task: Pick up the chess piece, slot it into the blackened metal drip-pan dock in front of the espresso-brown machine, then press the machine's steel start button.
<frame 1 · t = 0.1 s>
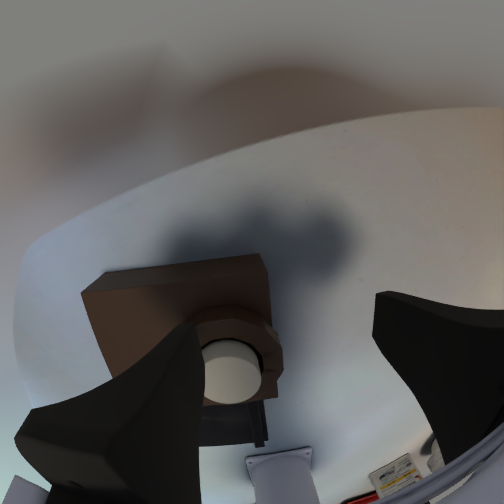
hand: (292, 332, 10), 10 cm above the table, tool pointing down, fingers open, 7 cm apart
start button: (228, 372, 14), point 6 cm above the table, slide at 0.1 cm
brown push button box: (189, 324, 20), on the table
paper bowls: (451, 428, 31), on the table
butter dish: (360, 500, 35), on the table
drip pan: (213, 413, 23), on the table
container: (389, 469, 32), on the table
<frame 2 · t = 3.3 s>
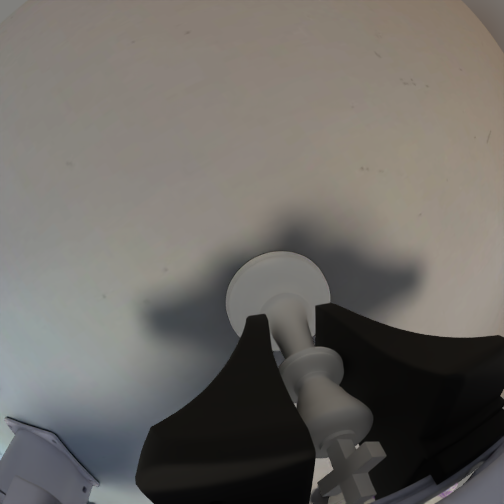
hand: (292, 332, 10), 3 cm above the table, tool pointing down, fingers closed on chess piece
paper bowls: (371, 477, 20), on the table
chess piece: (277, 299, 13), on the table, touching gripper
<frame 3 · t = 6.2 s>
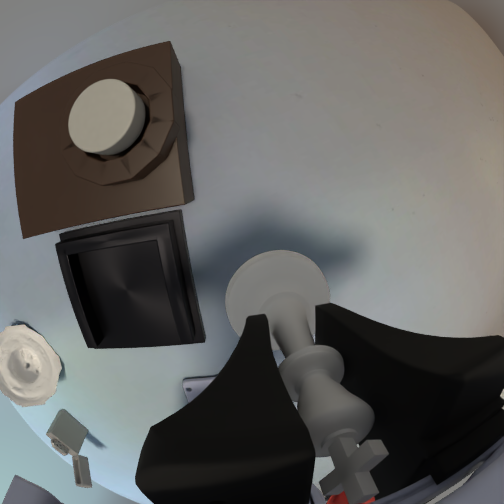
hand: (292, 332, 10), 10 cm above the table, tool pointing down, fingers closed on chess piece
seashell: (36, 350, 20), on the table
start button: (106, 117, 10), point 6 cm above the table, slide at 0.1 cm
brown push button box: (106, 147, 16), on the table
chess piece: (277, 298, 13), point 7 cm above the table, touching gripper
butter dish: (357, 482, 31), on the table
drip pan: (130, 286, 19), on the table
lighter: (82, 427, 23), on the table
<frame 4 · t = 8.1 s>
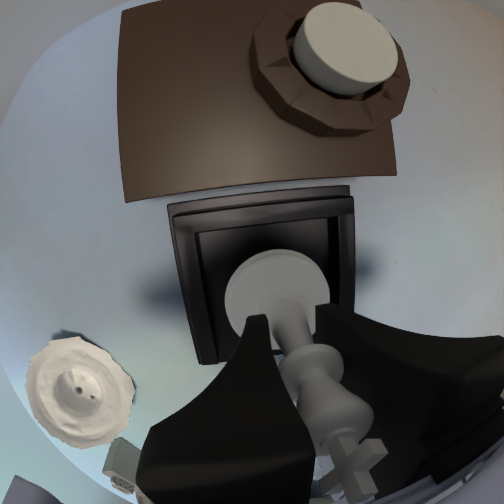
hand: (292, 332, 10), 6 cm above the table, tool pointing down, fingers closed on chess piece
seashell: (92, 369, 17), on the table
start button: (345, 47, 7), point 6 cm above the table, slide at 0.1 cm
brown push button box: (249, 97, 13), on the table
dish: (292, 500, 25), on the table
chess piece: (276, 298, 13), point 3 cm above the table, touching gripper
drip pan: (268, 278, 16), on the table
lighter: (143, 455, 20), on the table
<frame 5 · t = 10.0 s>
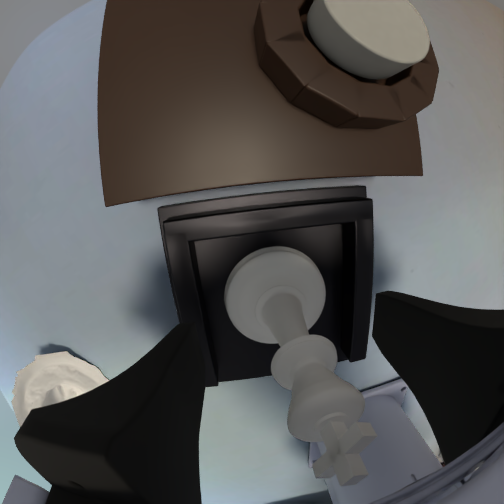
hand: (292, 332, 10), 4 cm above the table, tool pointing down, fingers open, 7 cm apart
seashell: (83, 384, 15), on the table
start button: (369, 24, 5), point 6 cm above the table, slide at 0.1 cm
brown push button box: (252, 84, 11), on the table
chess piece: (274, 293, 13), point 1 cm above the table, touching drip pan
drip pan: (273, 290, 14), on the table
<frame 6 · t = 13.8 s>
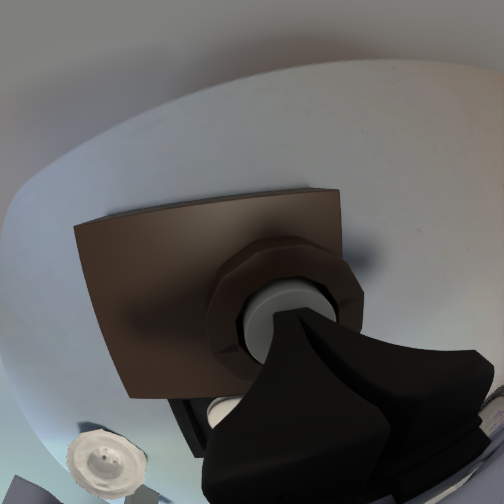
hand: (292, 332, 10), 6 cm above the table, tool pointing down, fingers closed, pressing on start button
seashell: (112, 443, 20), on the table
start button: (287, 322, 11), point 6 cm above the table, slide at -0.8 cm, touching gripper
brown push button box: (217, 283, 16), on the table
paper bowls: (480, 417, 27), on the table
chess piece: (239, 411, 18), point 1 cm above the table, touching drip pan
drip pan: (240, 407, 19), on the table
lighter: (152, 491, 22), on the table
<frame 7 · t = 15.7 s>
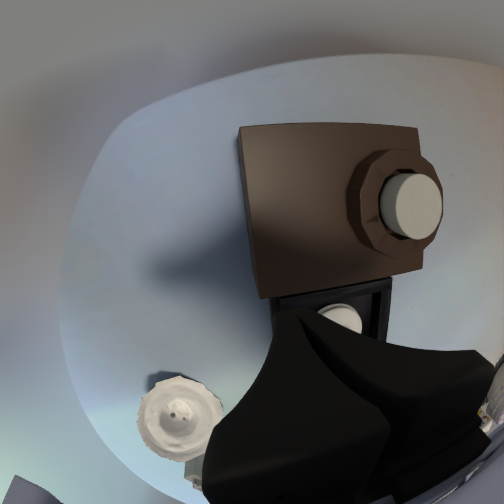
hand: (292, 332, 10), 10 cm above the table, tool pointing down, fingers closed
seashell: (184, 397, 23), on the table
start button: (412, 205, 13), point 6 cm above the table, slide at 0.1 cm
brown push button box: (326, 200, 19), on the table
paper bowls: (501, 372, 30), on the table
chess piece: (332, 329, 21), point 1 cm above the table, touching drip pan
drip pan: (330, 326, 22), on the table
lighter: (210, 458, 26), on the table
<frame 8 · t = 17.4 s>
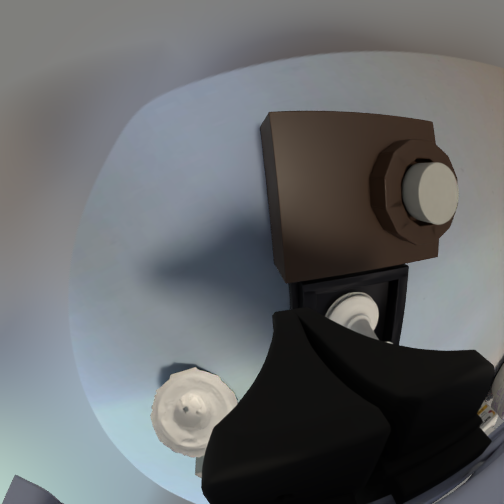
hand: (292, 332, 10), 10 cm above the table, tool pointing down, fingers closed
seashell: (197, 390, 23), on the table
start button: (431, 192, 13), point 6 cm above the table, slide at 0.1 cm
brown push button box: (345, 189, 19), on the table
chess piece: (349, 317, 21), point 1 cm above the table, touching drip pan
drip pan: (347, 315, 22), on the table
container: (457, 414, 31), on the table
lighter: (220, 455, 26), on the table
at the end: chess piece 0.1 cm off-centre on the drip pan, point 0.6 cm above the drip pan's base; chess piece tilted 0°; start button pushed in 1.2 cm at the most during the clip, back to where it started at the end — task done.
